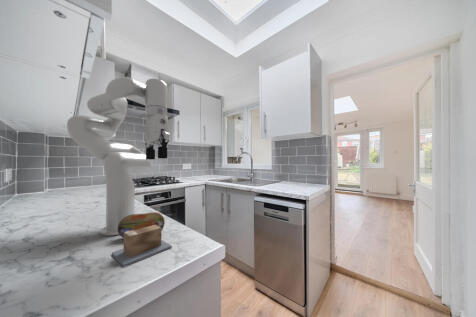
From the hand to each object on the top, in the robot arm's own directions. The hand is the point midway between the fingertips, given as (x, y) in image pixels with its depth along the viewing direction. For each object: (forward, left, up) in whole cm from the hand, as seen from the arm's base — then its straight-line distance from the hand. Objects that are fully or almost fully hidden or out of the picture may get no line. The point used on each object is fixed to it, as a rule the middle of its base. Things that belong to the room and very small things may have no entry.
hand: (156, 158), depth 63 cm
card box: (+8, -7, -28) cm, 30 cm away
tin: (-4, -3, -29) cm, 29 cm away
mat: (+8, -7, -28) cm, 30 cm away
